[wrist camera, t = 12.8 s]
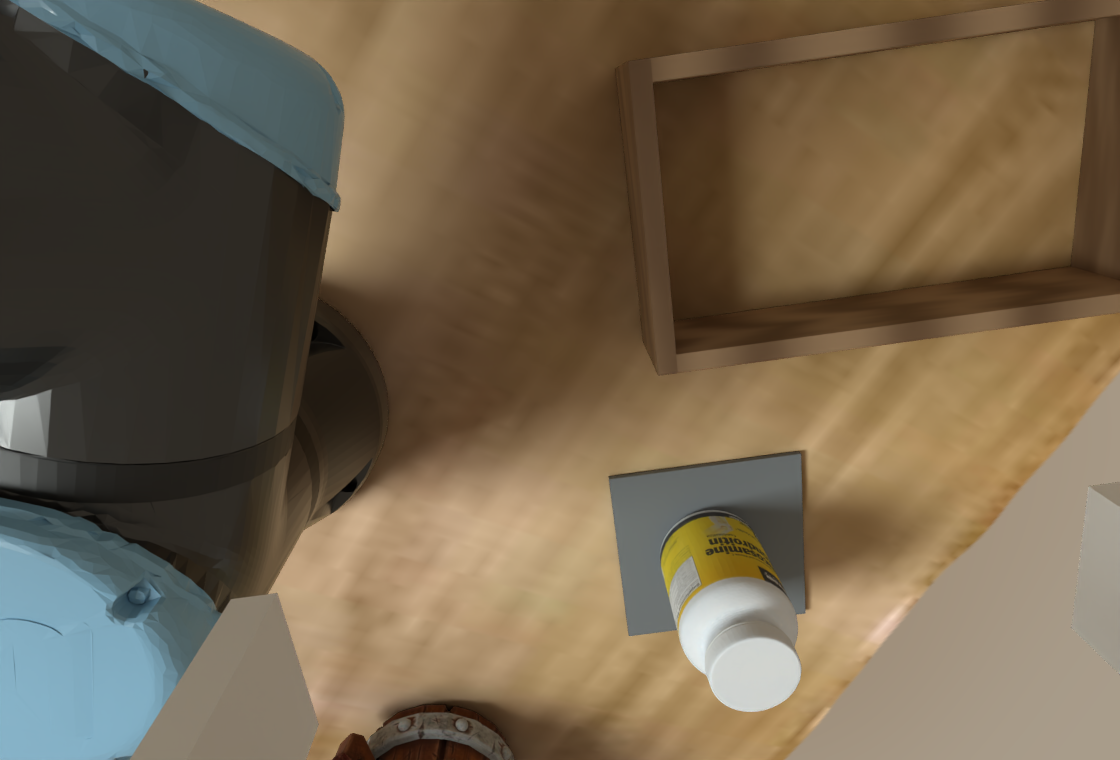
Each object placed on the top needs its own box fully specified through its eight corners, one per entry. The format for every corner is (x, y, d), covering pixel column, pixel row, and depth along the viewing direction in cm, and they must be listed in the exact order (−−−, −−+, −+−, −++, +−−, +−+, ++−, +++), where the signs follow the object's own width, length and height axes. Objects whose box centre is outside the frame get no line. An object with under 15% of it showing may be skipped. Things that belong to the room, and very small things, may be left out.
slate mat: (628, 632, 51) (628, 635, 50) (608, 476, 47) (609, 479, 46) (803, 609, 51) (805, 613, 50) (798, 450, 47) (801, 453, 46)
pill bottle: (776, 548, 48) (847, 674, 38) (702, 608, 50) (749, 747, 39) (711, 486, 47) (765, 599, 36) (636, 550, 48) (666, 678, 37)
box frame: (643, 341, 44) (658, 375, 38) (615, 68, 39) (628, 61, 33) (1086, 280, 43) (1168, 306, 38) (1117, -5, 38) (1217, -25, 33)
